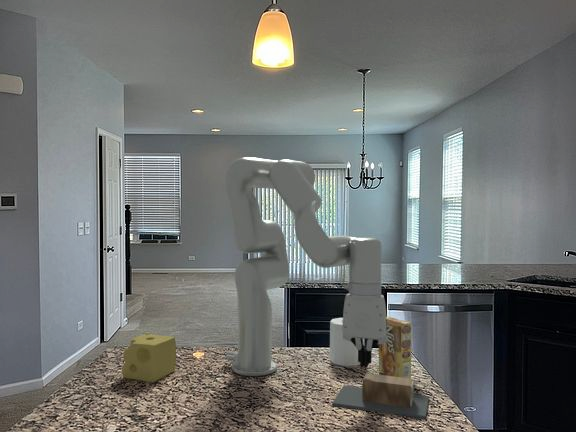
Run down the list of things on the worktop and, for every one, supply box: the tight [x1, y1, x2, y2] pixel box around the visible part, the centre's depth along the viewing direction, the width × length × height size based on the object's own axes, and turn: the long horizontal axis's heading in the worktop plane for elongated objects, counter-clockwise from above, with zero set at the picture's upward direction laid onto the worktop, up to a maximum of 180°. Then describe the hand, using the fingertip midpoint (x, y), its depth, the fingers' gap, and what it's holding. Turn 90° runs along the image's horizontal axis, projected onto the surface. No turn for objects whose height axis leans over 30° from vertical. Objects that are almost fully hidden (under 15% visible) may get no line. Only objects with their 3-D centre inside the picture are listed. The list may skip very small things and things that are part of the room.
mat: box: [331, 385, 430, 420], centre depth 117 cm, size 21×12×1 cm, turn 71°
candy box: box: [378, 316, 412, 379], centre depth 135 cm, size 9×4×15 cm, turn 33°
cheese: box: [121, 333, 177, 384], centre depth 134 cm, size 10×11×10 cm
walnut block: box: [361, 372, 414, 408], centre depth 116 cm, size 5×5×11 cm
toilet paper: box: [329, 317, 365, 367], centre depth 148 cm, size 10×10×12 cm
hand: (364, 365), depth 118 cm, fingers closed
